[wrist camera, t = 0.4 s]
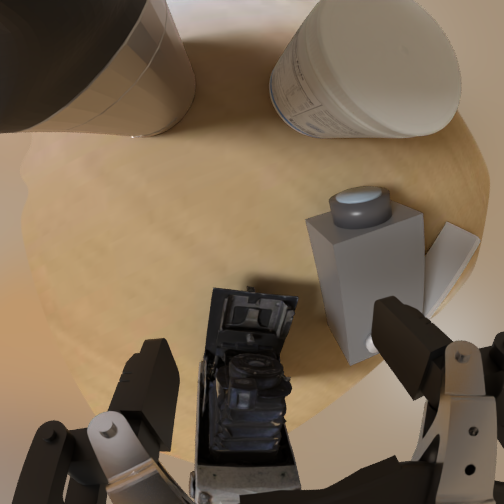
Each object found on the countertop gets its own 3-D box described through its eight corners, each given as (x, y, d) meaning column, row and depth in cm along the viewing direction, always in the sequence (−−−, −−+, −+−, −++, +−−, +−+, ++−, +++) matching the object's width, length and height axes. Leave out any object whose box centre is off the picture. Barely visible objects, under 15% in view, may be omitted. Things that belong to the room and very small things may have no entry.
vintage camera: (296, 281, 30) (375, 430, 11) (267, 380, 35) (293, 510, 16) (208, 269, 29) (188, 438, 10) (196, 374, 33) (188, 511, 15)
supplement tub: (346, 48, 21) (436, -4, 7) (368, 132, 24) (478, 135, 10) (254, 56, 21) (289, -29, 7) (279, 148, 24) (346, 149, 10)
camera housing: (299, 198, 26) (331, 220, 18) (378, 175, 26) (428, 189, 18) (327, 325, 32) (352, 370, 24) (390, 299, 32) (425, 336, 24)
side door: (445, 220, 28) (479, 236, 22) (451, 228, 29) (483, 245, 23) (391, 300, 32) (417, 328, 26) (398, 305, 32) (424, 332, 26)
